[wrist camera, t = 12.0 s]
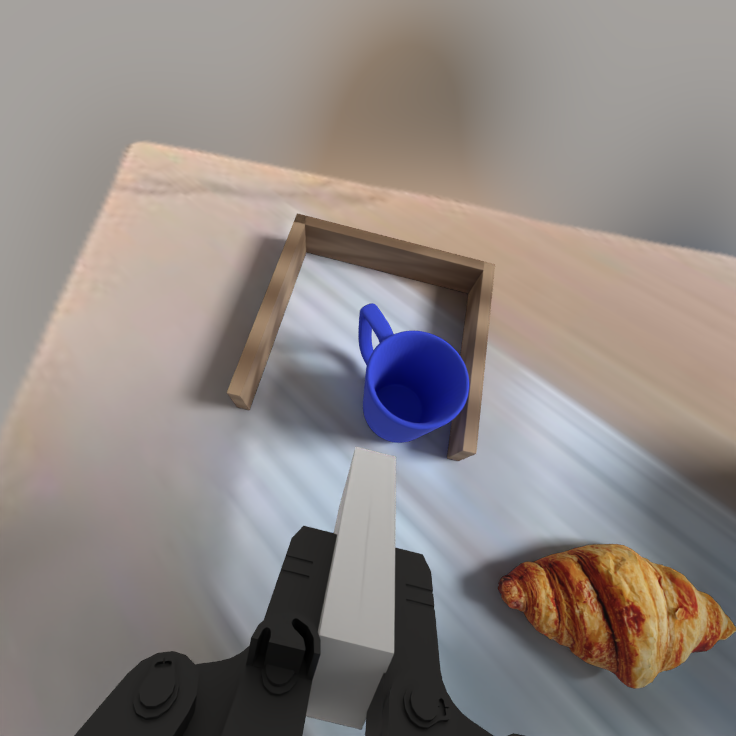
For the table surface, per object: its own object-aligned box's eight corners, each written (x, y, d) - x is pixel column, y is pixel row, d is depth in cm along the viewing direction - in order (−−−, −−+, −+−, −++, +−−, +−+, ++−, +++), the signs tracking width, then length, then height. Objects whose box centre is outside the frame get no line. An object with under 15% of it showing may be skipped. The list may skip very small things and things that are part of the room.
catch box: (458, 461, 37) (476, 453, 32) (237, 407, 36) (226, 392, 32) (478, 287, 45) (494, 264, 41) (299, 241, 44) (297, 213, 40)
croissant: (670, 576, 38) (731, 540, 33) (741, 706, 30) (836, 685, 25) (473, 550, 37) (507, 508, 32) (496, 681, 29) (546, 653, 24)
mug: (389, 333, 41) (408, 279, 32) (449, 427, 38) (490, 397, 29) (323, 364, 39) (323, 316, 30) (381, 467, 36) (402, 449, 26)
